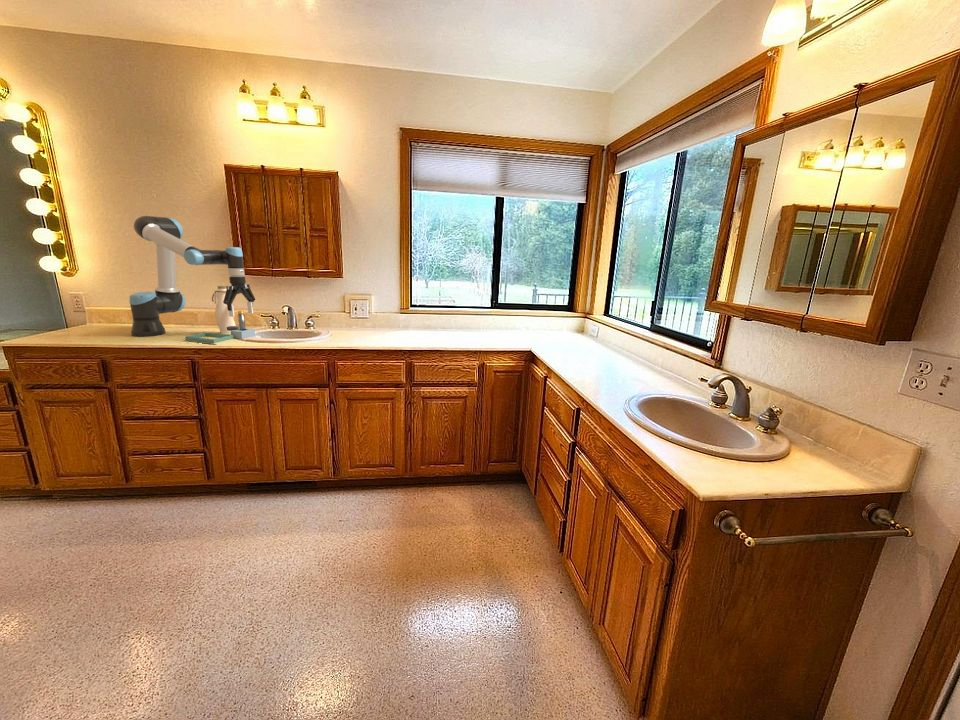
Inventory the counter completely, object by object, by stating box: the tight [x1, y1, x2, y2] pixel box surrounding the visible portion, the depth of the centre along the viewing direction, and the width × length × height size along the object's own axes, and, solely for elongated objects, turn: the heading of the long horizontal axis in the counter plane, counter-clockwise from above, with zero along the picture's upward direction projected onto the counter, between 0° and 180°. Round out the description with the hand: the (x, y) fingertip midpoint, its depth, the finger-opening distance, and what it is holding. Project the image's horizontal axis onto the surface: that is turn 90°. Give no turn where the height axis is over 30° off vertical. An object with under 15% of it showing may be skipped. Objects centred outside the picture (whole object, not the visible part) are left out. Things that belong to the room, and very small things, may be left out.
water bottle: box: [211, 285, 237, 335], centre depth 236 cm, size 10×9×28 cm
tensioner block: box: [227, 325, 256, 340], centre depth 231 cm, size 14×10×6 cm
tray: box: [184, 331, 235, 346], centre depth 221 cm, size 18×13×3 cm
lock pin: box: [237, 310, 247, 331], centre depth 229 cm, size 3×3×14 cm
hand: (241, 314), depth 227 cm, fingers open, 13 cm apart
